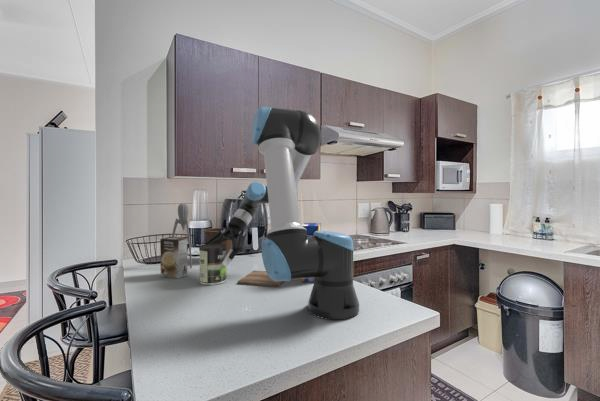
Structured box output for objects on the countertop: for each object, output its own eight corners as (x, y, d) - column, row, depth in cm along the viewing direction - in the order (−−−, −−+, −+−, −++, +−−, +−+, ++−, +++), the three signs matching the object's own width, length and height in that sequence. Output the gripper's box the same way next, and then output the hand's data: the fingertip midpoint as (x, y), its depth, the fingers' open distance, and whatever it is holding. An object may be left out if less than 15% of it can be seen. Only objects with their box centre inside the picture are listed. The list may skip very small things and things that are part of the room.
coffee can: (230, 278, 122) (230, 244, 121) (219, 286, 112) (218, 248, 111) (207, 276, 124) (207, 243, 124) (194, 284, 114) (193, 247, 113)
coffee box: (159, 277, 124) (159, 238, 123) (170, 273, 130) (169, 236, 129) (178, 278, 121) (177, 239, 121) (188, 274, 127) (187, 237, 127)
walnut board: (277, 287, 110) (277, 284, 110) (237, 283, 114) (237, 281, 114) (289, 275, 126) (289, 272, 126) (254, 272, 130) (253, 270, 130)
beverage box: (301, 281, 117) (301, 225, 116) (305, 274, 127) (304, 222, 127) (318, 282, 116) (318, 226, 115) (321, 274, 126) (320, 223, 126)
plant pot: (229, 255, 165) (228, 226, 164) (242, 261, 152) (241, 229, 151) (199, 259, 155) (199, 228, 155) (210, 265, 142) (210, 232, 142)
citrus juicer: (191, 262, 149) (190, 202, 148) (202, 265, 143) (201, 203, 142) (168, 267, 140) (167, 203, 139) (179, 270, 134) (178, 204, 133)
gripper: (265, 229, 125) (239, 272, 113) (224, 225, 139) (198, 263, 127) (256, 217, 121) (229, 261, 109) (215, 214, 135) (187, 253, 123)
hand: (212, 263), depth 118 cm, fingers open, 13 cm apart
